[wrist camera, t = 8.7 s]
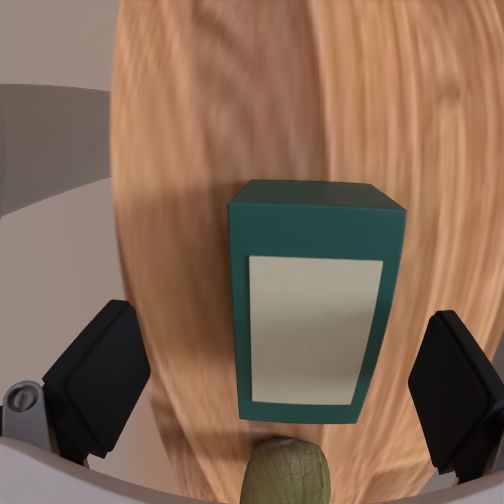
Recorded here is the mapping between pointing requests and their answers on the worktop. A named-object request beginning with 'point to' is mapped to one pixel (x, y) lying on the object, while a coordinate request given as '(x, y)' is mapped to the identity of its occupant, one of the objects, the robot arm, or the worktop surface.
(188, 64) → the worktop surface
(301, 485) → the fennel bulb
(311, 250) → the tea packet
